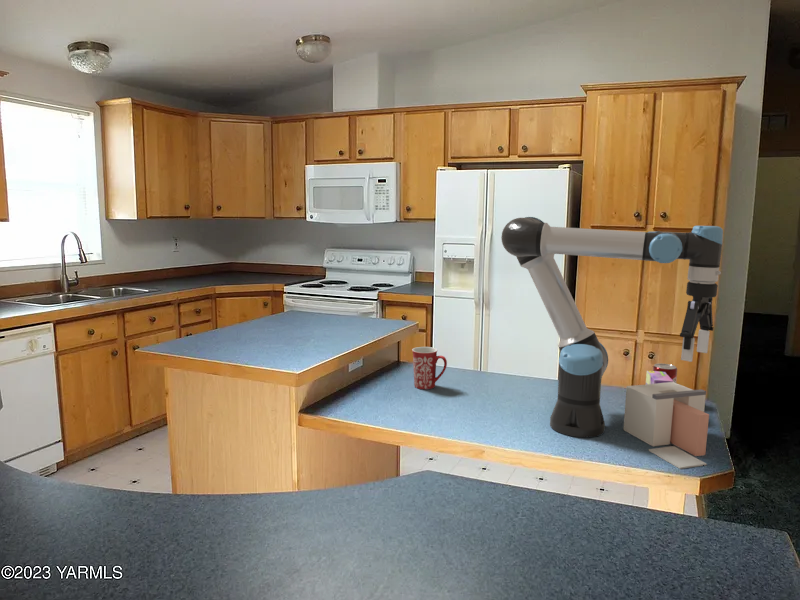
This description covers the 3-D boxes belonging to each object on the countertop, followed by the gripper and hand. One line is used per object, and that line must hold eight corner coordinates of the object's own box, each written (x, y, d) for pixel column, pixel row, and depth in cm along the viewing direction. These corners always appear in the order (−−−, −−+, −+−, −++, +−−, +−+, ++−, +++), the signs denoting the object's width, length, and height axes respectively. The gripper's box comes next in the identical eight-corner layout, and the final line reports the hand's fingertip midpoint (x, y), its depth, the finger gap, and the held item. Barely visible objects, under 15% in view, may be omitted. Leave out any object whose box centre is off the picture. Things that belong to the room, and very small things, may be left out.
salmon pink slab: (695, 456, 145) (699, 415, 144) (662, 438, 157) (665, 400, 155) (705, 455, 146) (709, 414, 145) (671, 437, 158) (674, 399, 156)
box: (670, 418, 172) (674, 380, 170) (650, 417, 173) (653, 379, 171) (662, 407, 182) (665, 371, 180) (643, 405, 183) (646, 370, 181)
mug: (407, 388, 199) (407, 350, 197) (417, 381, 207) (418, 345, 205) (440, 393, 194) (441, 355, 192) (450, 386, 202) (451, 349, 200)
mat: (679, 468, 138) (680, 467, 138) (648, 450, 148) (648, 449, 148) (706, 465, 140) (706, 463, 140) (673, 447, 151) (673, 446, 151)
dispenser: (652, 446, 151) (656, 396, 149) (623, 429, 163) (626, 382, 160) (701, 440, 156) (706, 391, 153) (669, 424, 167) (673, 378, 165)
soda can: (669, 398, 191) (672, 363, 189) (677, 405, 184) (681, 369, 182) (647, 397, 192) (650, 362, 190) (654, 404, 184) (657, 368, 183)
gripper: (703, 287, 145) (694, 367, 149) (729, 279, 163) (721, 351, 167) (672, 284, 150) (665, 361, 154) (701, 277, 168) (694, 346, 172)
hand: (694, 356), depth 160 cm, fingers open, 13 cm apart
